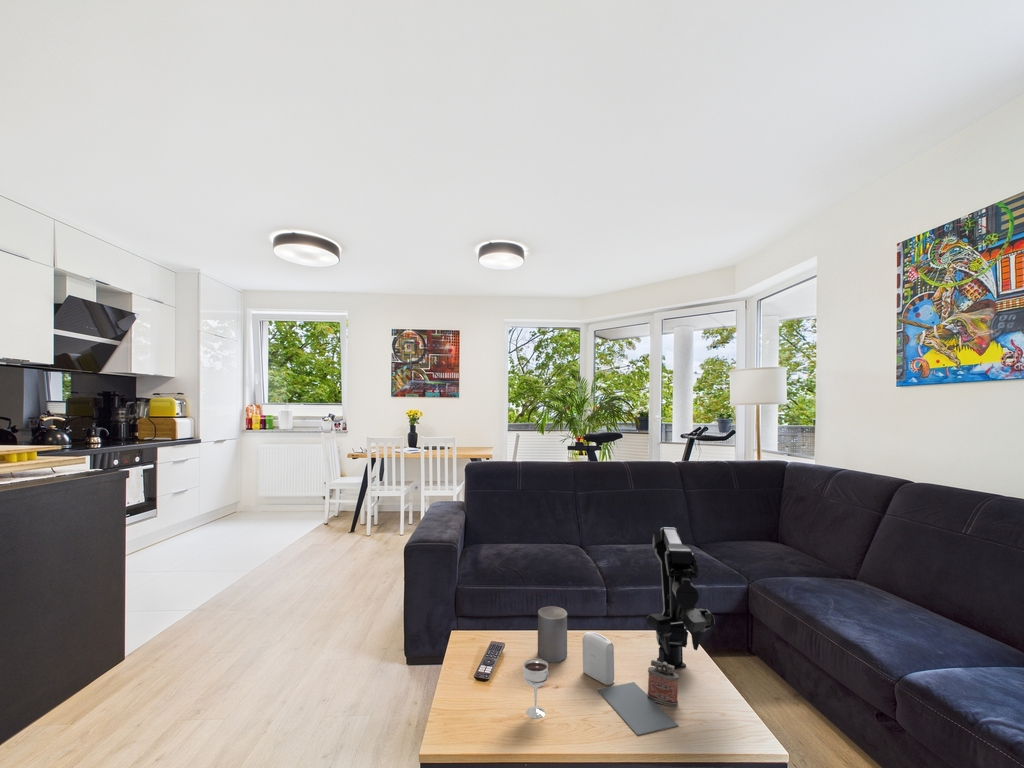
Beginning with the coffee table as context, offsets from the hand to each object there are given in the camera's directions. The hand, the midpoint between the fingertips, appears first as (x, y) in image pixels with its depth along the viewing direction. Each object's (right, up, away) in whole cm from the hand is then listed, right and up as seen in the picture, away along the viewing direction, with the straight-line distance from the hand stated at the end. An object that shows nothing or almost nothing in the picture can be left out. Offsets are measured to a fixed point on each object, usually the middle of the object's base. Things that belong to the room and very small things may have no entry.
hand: (681, 651), depth 131 cm
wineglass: (-41, -12, -8) cm, 44 cm away
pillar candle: (-34, -14, +21) cm, 43 cm away
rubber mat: (-14, -12, -6) cm, 19 cm away
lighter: (-6, -12, -3) cm, 14 cm away
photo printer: (-22, -13, +9) cm, 27 cm away
